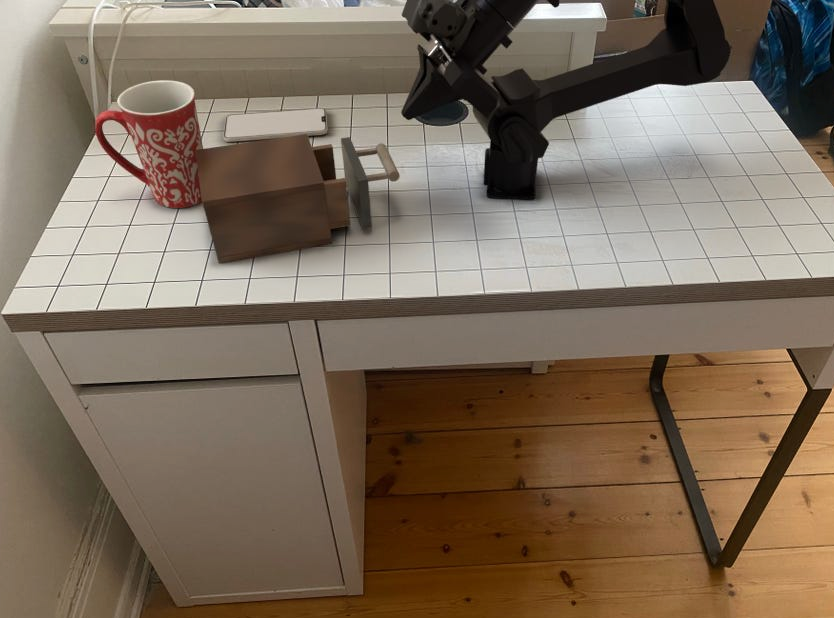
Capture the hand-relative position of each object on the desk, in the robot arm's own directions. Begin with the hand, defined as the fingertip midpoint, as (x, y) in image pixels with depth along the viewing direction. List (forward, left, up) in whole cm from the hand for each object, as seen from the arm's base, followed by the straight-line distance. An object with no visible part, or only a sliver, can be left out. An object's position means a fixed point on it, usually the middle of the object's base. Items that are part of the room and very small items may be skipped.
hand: (404, 116), depth 89 cm
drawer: (+9, +4, -11) cm, 15 cm away
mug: (+32, +1, -12) cm, 34 cm away
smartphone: (+22, -18, -12) cm, 31 cm away
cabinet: (+17, +7, -12) cm, 22 cm away
